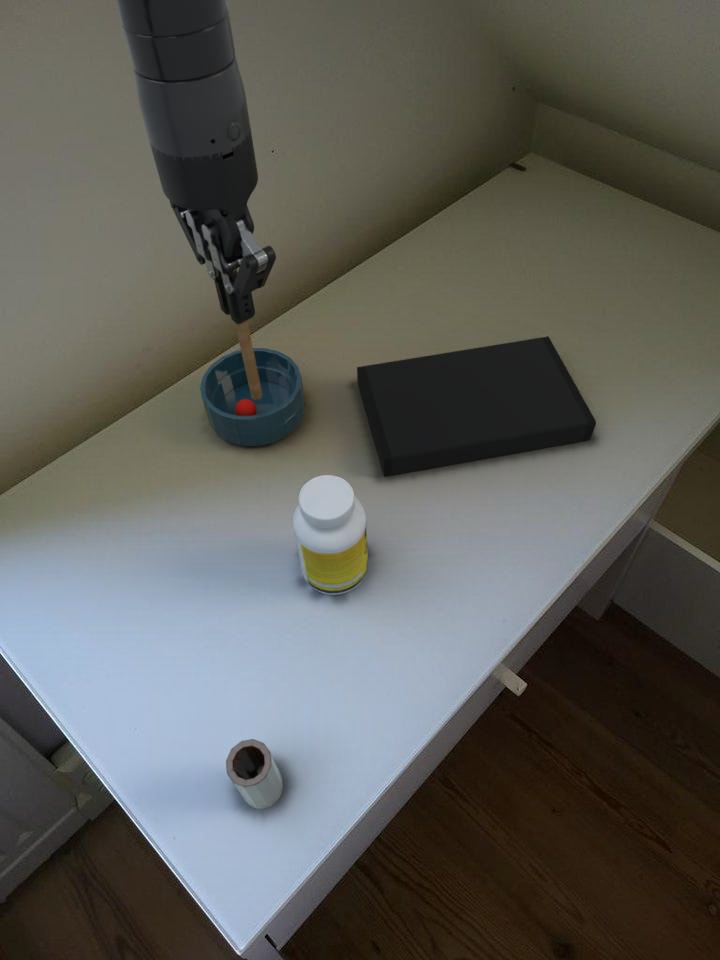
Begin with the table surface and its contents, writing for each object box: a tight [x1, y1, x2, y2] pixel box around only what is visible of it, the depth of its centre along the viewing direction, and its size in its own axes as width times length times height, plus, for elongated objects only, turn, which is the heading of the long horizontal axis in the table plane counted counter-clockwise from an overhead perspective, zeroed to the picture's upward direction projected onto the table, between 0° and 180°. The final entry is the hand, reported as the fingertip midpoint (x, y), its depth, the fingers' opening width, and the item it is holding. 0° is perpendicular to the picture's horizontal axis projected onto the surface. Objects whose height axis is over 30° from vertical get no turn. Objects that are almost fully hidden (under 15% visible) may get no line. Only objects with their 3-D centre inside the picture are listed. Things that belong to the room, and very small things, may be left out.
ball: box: [235, 399, 257, 416], centre depth 77 cm, size 2×2×2 cm
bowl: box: [199, 347, 306, 447], centre depth 77 cm, size 11×11×5 cm
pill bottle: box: [292, 474, 369, 596], centre depth 62 cm, size 6×6×12 cm
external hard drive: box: [356, 336, 597, 477], centre depth 77 cm, size 14×23×3 cm, turn 101°
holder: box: [225, 738, 284, 810], centre depth 52 cm, size 3×3×7 cm
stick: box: [232, 268, 262, 400], centre depth 67 cm, size 1×1×16 cm
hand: (238, 314), depth 64 cm, fingers closed on stick, 1 cm apart
